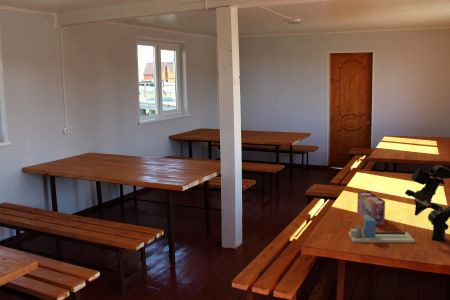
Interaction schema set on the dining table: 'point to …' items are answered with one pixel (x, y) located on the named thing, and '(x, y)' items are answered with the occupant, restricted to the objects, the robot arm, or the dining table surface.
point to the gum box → (371, 207)
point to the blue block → (369, 227)
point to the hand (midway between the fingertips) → (415, 215)
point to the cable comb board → (380, 236)
